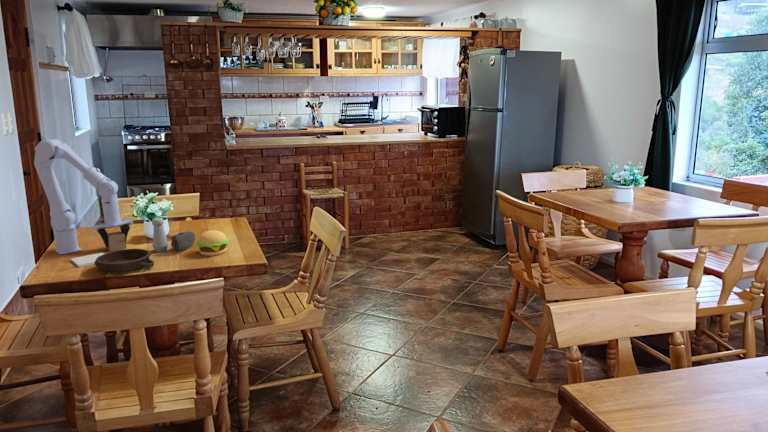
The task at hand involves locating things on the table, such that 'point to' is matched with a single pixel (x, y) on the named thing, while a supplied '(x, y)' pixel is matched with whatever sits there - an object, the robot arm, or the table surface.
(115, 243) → the walnut cube
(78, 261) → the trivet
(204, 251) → the hamburger
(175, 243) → the perforated stone tool
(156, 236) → the salt shaker
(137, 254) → the dish
